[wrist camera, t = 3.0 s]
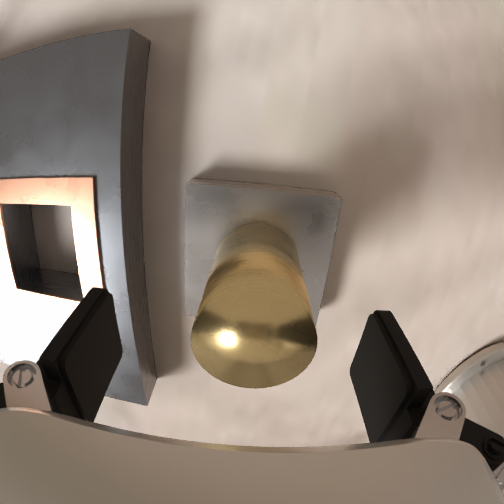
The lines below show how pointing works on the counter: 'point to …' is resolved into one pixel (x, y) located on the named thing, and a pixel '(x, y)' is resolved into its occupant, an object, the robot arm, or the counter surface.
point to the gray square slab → (257, 211)
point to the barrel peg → (255, 311)
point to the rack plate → (76, 194)
